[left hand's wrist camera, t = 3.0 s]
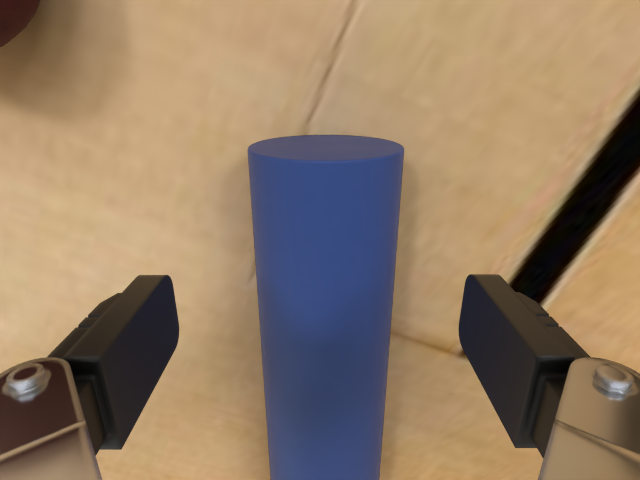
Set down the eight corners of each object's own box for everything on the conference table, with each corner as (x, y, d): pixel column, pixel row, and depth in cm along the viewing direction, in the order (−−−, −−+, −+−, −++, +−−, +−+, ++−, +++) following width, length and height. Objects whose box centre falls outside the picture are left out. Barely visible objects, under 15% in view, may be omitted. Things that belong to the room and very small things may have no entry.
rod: (259, 134, 19) (232, 161, 13) (391, 134, 19) (420, 160, 13) (280, 490, 28) (269, 596, 22) (368, 490, 28) (380, 596, 22)
